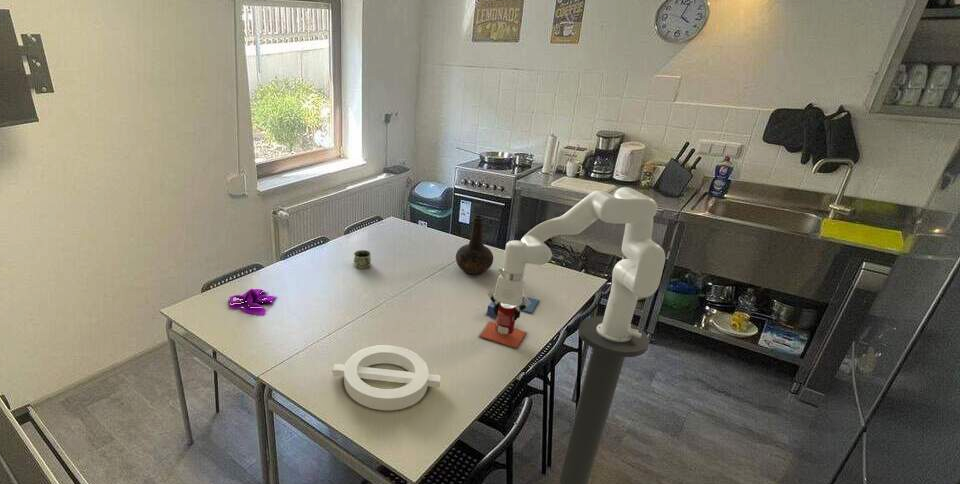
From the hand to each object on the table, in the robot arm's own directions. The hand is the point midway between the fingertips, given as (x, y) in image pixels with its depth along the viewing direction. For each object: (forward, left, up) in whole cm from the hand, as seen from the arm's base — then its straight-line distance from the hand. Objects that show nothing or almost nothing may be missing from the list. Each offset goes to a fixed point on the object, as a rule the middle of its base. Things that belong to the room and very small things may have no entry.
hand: (506, 315), depth 185 cm
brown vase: (+30, -48, -9) cm, 57 cm away
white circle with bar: (+25, +48, -9) cm, 55 cm away
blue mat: (+2, -28, -9) cm, 29 cm away
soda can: (0, 0, -7) cm, 7 cm away
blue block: (+8, -13, -9) cm, 18 cm away
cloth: (+99, +33, -9) cm, 105 cm away
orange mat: (0, 0, -9) cm, 9 cm away
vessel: (+79, -24, -9) cm, 83 cm away
